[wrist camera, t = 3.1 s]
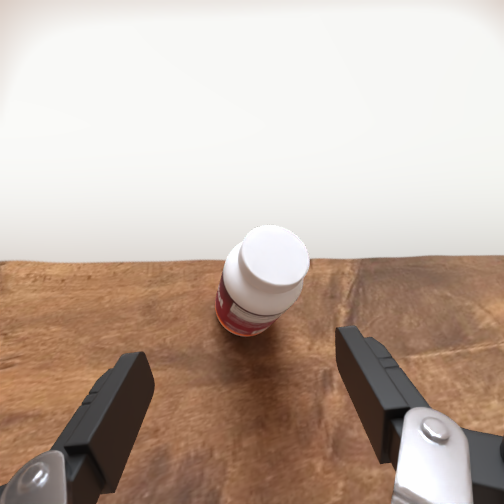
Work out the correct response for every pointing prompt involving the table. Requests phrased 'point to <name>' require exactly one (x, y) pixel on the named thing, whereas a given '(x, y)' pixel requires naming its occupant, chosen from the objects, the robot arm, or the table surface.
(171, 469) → the table surface
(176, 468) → the table surface
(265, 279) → the pill bottle
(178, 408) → the table surface
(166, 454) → the table surface
